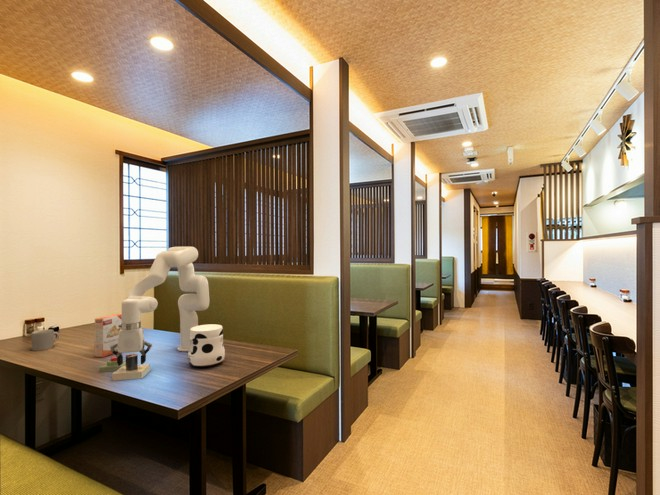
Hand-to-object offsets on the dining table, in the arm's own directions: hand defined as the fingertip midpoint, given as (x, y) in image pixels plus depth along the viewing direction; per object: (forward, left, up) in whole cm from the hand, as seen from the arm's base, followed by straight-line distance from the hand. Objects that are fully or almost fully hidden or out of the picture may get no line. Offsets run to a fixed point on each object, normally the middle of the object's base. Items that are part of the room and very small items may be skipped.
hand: (131, 364), depth 154 cm
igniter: (+12, -12, -5) cm, 18 cm away
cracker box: (+26, -39, -5) cm, 47 cm away
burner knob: (0, 0, -2) cm, 2 cm away
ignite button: (+12, -12, -2) cm, 17 cm away
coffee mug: (+70, -61, -5) cm, 93 cm away
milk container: (-31, -9, -5) cm, 33 cm away
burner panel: (0, 0, -5) cm, 5 cm away
